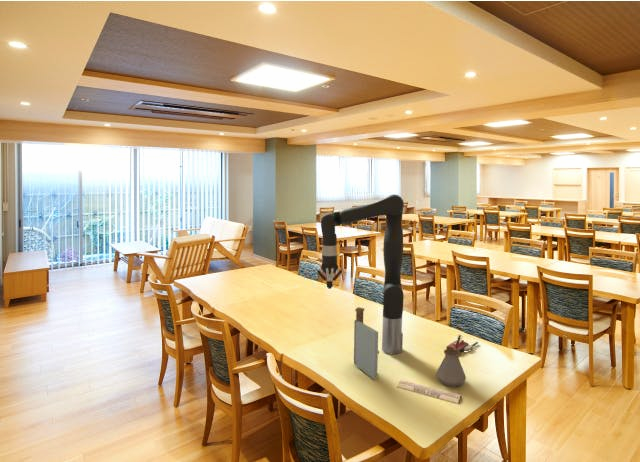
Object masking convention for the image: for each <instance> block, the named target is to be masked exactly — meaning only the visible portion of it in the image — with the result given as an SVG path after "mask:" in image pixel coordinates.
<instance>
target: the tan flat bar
mask: <svg viewBox="0 0 640 462" xmlns="http://www.w3.org/2000/svg"><path fill="white" fill-rule="evenodd" d="M396 388H397V389H398V388H399V389H402V390H406V391H410V392H413V393H417V394H421V395H424V396H428V397H431V398H435V399H439V400H441V401H442V400H443V401H446V402H450V403H453V404H456V403H457V405H459V401H460V398H461V397H462V394H457V393H453V392H449V391H446V390H444V389H443V390H442V389H439V388H436V387H435V388H434V387H433V386H432V387H431V386H428V385H424V384H421V383H416V382H413V381H408V380H404V379H400V380H399V381H398V383H397V385H396ZM460 396H461V397H460Z"/></svg>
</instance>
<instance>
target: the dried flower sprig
mask: <svg viewBox="0 0 640 462" xmlns="http://www.w3.org/2000/svg"><path fill="white" fill-rule="evenodd" d="M457 340H458V339H456V340H454V341H453V342H451V343H450V344H448V345H447V346H446V349H454V350H455V345H456V342H457ZM464 340H465V339H460V341H459V345H458V348H457V351H459V352H460V353H461V354H463V353H465V352H464V351H469V350H471V349H472V348H473V349H474V347H476V345H478V344H479V342H478V341H476V342H474V343H472V344H471V345H470V344H469V343H468V342H466V341H464ZM473 346H474V347H473ZM446 349H445V350H446ZM471 351H472V350H471ZM462 352H463V353H462Z"/></svg>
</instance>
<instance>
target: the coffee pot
mask: <svg viewBox="0 0 640 462" xmlns="http://www.w3.org/2000/svg"><path fill="white" fill-rule="evenodd" d="M463 338H464V336H462V335H461V334H458V335H457V339H456V340H457V342H456V345H455V350H454V349H444V350H443V353H444V358H443V360H442V362H441V363H440V365H439V367H438V368H437V370H436V376H437V378H438V380H439V381H440V382H441V383H442V384H443V385H445V386H448V387H455V386H456V387H459V386H461V385H462V384H464V383H465V381H466V380H467V379H466V378H467V377H466V374H465V371H464V368H463V366H462V364H461V360H460V357H461V356H462V353H460V352H459V351H457V348H458V345H459V341H460V339H461V340H463Z"/></svg>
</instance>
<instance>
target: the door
mask: <svg viewBox="0 0 640 462" xmlns="http://www.w3.org/2000/svg"><path fill="white" fill-rule="evenodd" d="M353 326H354V327H353V328H354V333H353V334H354V335H353V341H354V343H353V364H354V365H355V366H356V367H358V368H359V369H360V370H361V371H363V372H364V373H366V374H367V375H368V376H369V377H371V378H372V379H373V380H376V379H378V363H379V362H378V361H379V360H378V357H379V354H380V351H379V331H377V330H376V329H374V328H372V327H370V325H367V324H365V323H364V322H363V323H362V322H360V321H359V320H356V319H355V320H354V325H353Z"/></svg>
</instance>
